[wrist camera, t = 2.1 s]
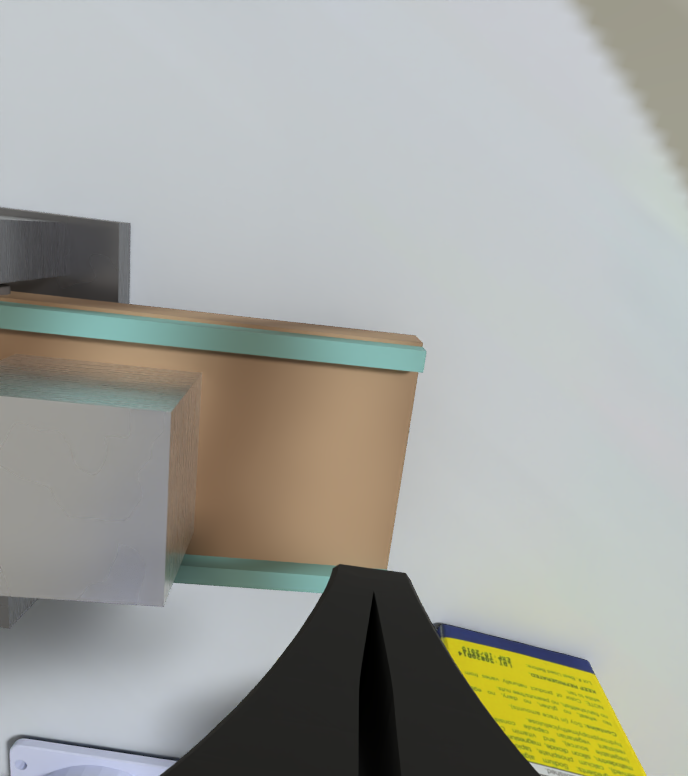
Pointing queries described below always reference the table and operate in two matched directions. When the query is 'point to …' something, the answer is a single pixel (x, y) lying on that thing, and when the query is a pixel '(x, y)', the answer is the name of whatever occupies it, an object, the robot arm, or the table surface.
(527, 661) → the supplement box
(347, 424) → the balance beam
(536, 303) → the table surface
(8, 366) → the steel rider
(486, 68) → the table surface
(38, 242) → the beam stand
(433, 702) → the robot arm
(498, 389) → the table surface
